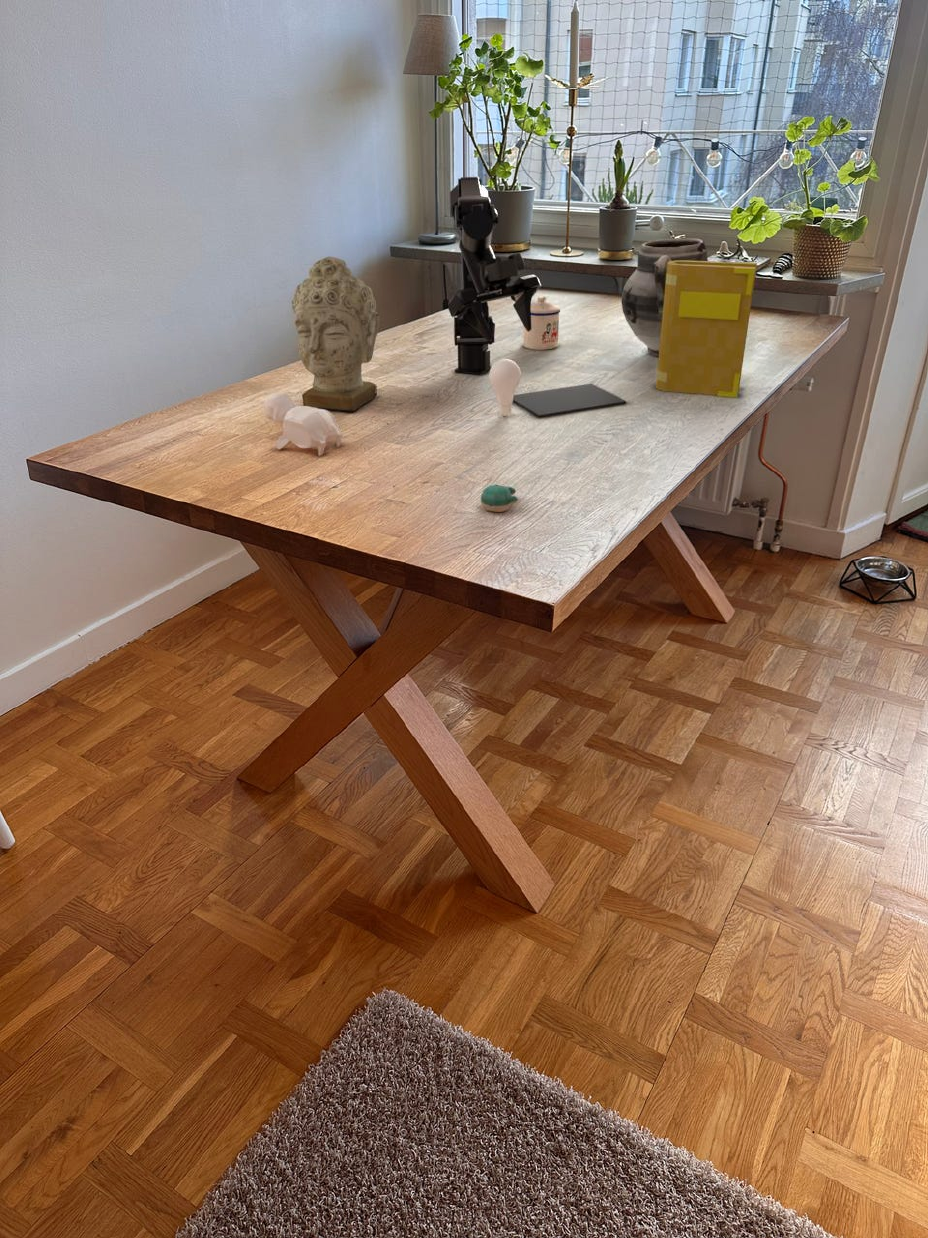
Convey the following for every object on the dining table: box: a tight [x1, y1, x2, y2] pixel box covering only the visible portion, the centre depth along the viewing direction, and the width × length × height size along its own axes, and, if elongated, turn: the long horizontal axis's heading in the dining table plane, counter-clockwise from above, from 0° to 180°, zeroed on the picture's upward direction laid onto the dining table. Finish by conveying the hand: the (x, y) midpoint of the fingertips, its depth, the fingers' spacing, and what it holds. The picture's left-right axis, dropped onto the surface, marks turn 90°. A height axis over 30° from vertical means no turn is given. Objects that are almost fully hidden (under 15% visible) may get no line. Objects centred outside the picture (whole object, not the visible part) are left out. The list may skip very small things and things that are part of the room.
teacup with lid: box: [522, 295, 561, 351], centre depth 220 cm, size 12×9×12 cm
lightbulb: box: [488, 358, 522, 417], centre depth 173 cm, size 6×6×11 cm
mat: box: [513, 383, 627, 418], centre depth 183 cm, size 14×20×1 cm
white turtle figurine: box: [263, 392, 344, 457], centre depth 162 cm, size 9×8×15 cm
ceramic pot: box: [620, 237, 709, 357], centre depth 208 cm, size 29×23×25 cm
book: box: [655, 260, 758, 398], centre depth 182 cm, size 17×7×25 cm, turn 71°
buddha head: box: [291, 256, 380, 413], centre depth 179 cm, size 17×19×28 cm
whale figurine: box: [480, 484, 518, 513], centre depth 138 cm, size 6×7×4 cm
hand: (510, 335), depth 176 cm, fingers open, 9 cm apart
